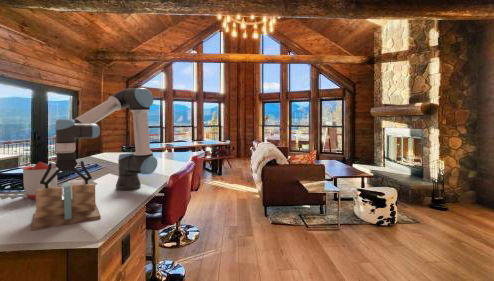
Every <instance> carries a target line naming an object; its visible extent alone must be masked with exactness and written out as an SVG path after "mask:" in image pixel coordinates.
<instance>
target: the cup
mask: <svg viewBox="0 0 494 281" xmlns="http://www.w3.org/2000/svg"><path fill="white" fill-rule="evenodd" d="M83 180H84V179H74V180H73V179H72V180H69V181H67V182H70V188H71V199H72V198H73V197H72V186H75V185H83ZM60 187H62V197H64V183H63V184H62V185H61V186H60Z"/></svg>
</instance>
